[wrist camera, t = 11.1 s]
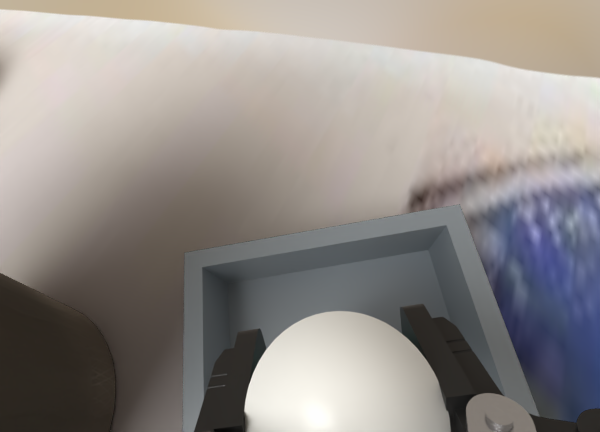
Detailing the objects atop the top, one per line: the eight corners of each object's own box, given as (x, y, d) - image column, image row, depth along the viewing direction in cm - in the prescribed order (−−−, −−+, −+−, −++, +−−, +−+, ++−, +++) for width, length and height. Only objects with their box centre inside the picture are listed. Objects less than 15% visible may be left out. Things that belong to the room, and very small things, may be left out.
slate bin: (436, 236, 26) (459, 204, 21) (533, 530, 19) (609, 600, 13) (216, 274, 27) (184, 252, 22) (225, 565, 20) (180, 642, 14)
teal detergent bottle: (377, 333, 19) (416, 298, 9) (399, 433, 17) (483, 537, 7) (294, 345, 19) (238, 325, 9) (305, 445, 17) (250, 564, 7)
